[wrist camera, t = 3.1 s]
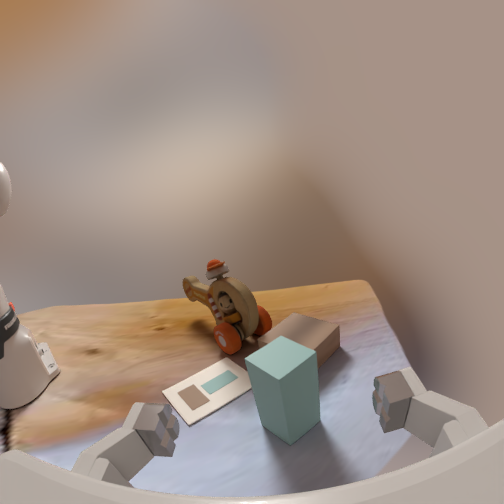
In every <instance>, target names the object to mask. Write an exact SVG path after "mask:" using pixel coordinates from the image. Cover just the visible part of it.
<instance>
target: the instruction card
mask: <svg viewBox="0 0 504 504" xmlns="http://www.w3.org/2000/svg"><path fill="white" fill-rule="evenodd" d="M251 388H252V386H251V382H250V378H249V375H248V372H247V371H246V370H244V369H243V368H241V367H240V366H239V365H237V364H236V363H234V362H233V361H231V360H230V359H229V358H227V357H226V358H224V359H222V360H220V361H219V362H217V363H215V364H213V365H211V366H210V367H208V368H206V369H204V370H202V371H200V372H199V373H197V374H195V375H193V376H191V377H189V378H187V379H185V380H183V381H182V382H180V383H178V384H176V385H174V386H172V387H170V388H168V389H166V390H164V391H162V392H163V394H164V395H165V396H166V398H167V399H168V400H169V402H170V403H171V404H172V405H173V407H174V408H175V409H176V410H177V412H178V413H179V414H180V415H181V416H182V418H183V419H184V420H185V421H186V422H187V424H188V425H189V426H190V425H191V424H193V423H195V422H197V421H199V420H200V419H202V418H204V417H206V416H207V415H209V414H211V413H212V412H214V411H216V410H217V409H219V408H221V407H222V406H224V405H226V404H227V403H229V402H231V401H232V400H234V399H235V398H237V397H239V396H240V395H242V394H243V393H245V392H246V391H248V390H250V389H251Z"/></svg>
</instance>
